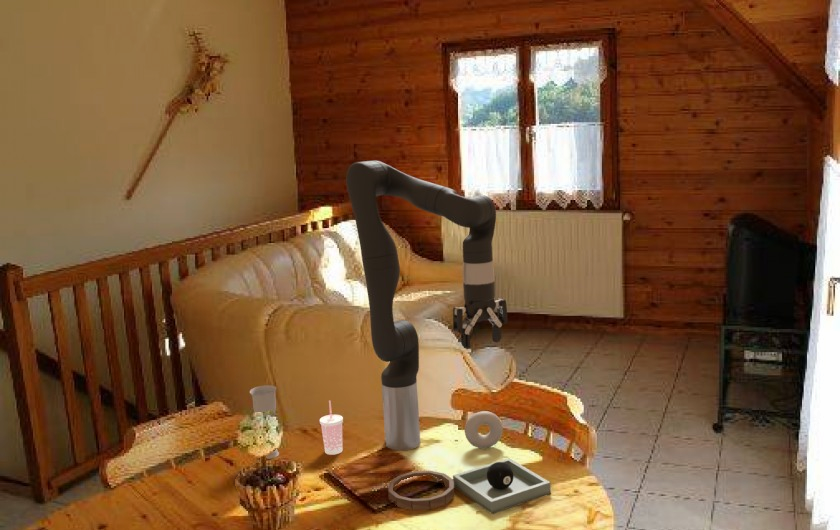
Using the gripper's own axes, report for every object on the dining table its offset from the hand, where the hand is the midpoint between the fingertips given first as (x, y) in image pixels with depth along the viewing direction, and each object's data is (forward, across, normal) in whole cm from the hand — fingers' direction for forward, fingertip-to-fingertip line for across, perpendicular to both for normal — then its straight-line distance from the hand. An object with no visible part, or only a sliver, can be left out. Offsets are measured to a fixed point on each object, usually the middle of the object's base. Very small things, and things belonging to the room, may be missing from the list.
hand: (481, 345), depth 197 cm
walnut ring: (+30, +22, +6) cm, 38 cm away
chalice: (+30, +44, -37) cm, 65 cm away
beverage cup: (+30, +29, -29) cm, 51 cm away
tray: (+30, +6, +15) cm, 34 cm away
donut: (+30, -4, -7) cm, 31 cm away
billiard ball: (+30, +6, +15) cm, 34 cm away
